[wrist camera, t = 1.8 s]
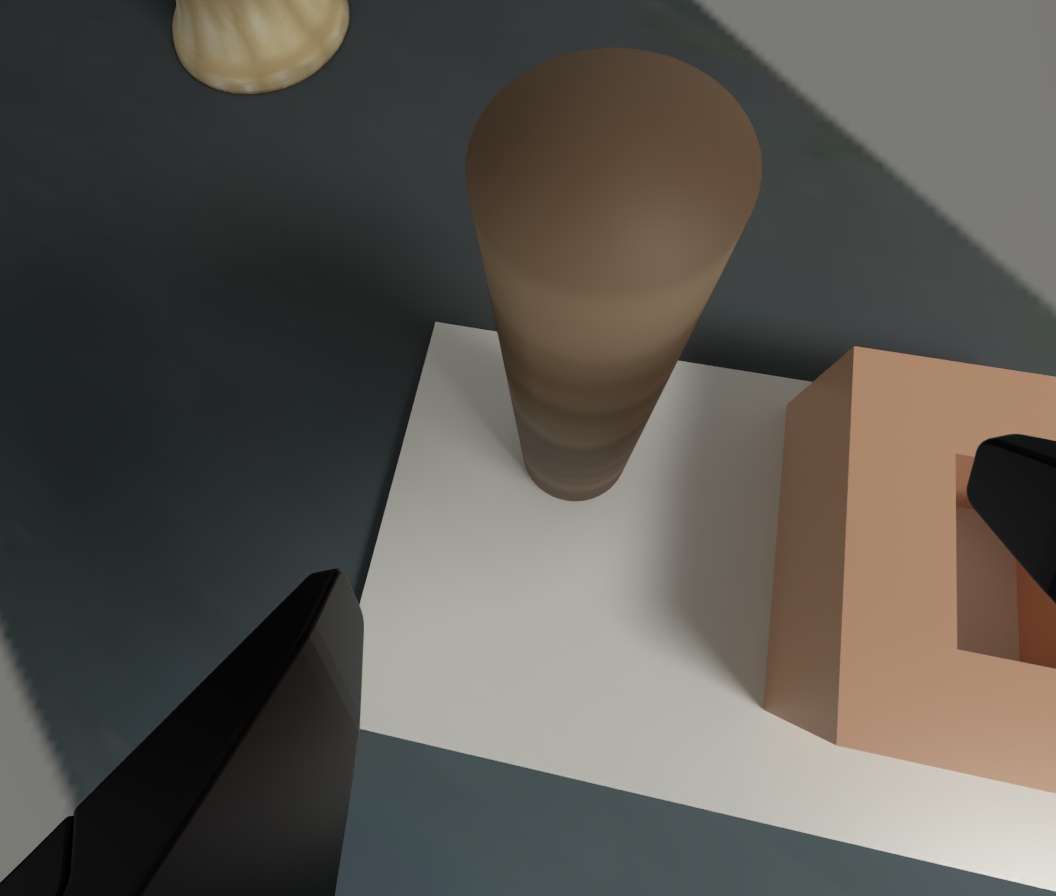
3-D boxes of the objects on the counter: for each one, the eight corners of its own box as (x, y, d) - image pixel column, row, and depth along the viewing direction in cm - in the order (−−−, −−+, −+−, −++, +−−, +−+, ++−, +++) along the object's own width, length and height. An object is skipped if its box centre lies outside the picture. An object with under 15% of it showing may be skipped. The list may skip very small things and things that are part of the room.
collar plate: (1150, 908, 15) (1421, 1045, 11) (334, 718, 18) (252, 759, 13) (1109, 436, 19) (1296, 378, 14) (438, 328, 21) (404, 247, 17)
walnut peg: (618, 510, 19) (748, 310, 6) (513, 490, 19) (434, 264, 6) (633, 410, 20) (772, 63, 7) (533, 394, 20) (498, 34, 7)
